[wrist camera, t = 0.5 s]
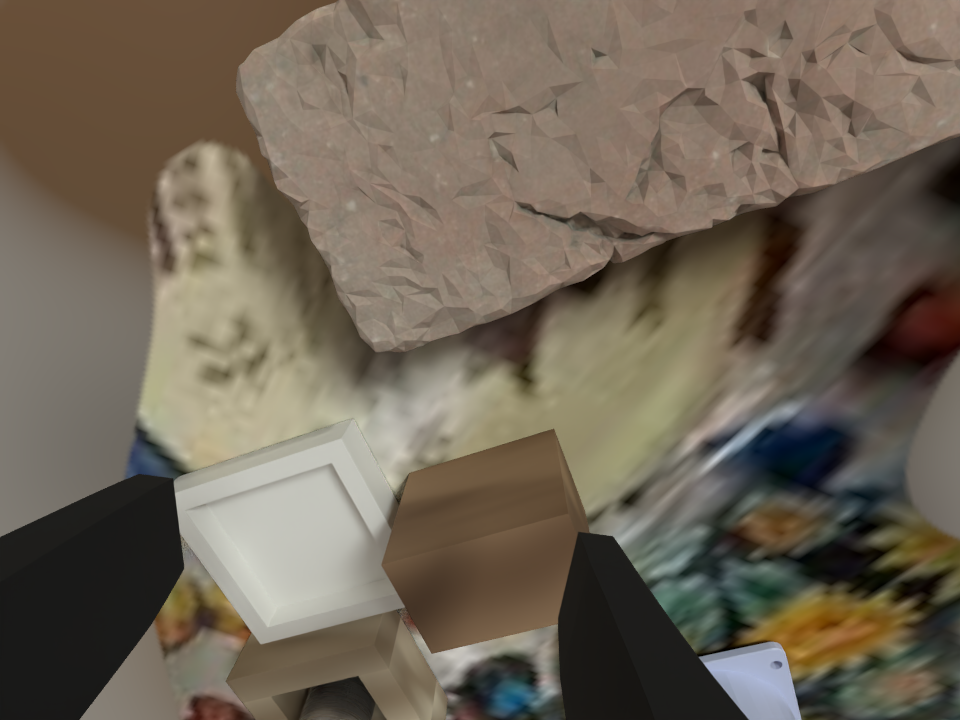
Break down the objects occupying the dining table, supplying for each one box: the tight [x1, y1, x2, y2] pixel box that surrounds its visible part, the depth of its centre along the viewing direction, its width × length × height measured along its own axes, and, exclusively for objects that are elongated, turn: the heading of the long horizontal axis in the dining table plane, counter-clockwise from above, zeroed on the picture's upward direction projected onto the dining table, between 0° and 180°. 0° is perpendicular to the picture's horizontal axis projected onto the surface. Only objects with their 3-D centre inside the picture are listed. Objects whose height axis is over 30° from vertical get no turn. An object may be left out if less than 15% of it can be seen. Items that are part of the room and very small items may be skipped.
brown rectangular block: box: [381, 429, 590, 654], centre depth 18 cm, size 4×6×5 cm, turn 111°
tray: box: [174, 418, 405, 644], centre depth 21 cm, size 8×8×2 cm
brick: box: [236, 0, 960, 352], centre depth 13 cm, size 16×8×5 cm, turn 114°
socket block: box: [226, 610, 448, 720], centre depth 23 cm, size 7×7×2 cm
